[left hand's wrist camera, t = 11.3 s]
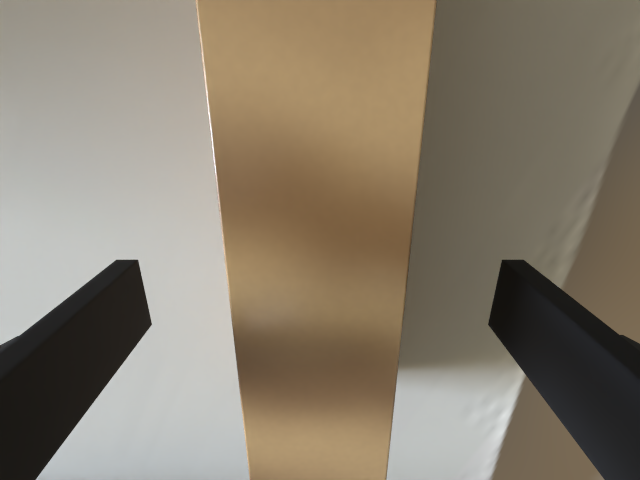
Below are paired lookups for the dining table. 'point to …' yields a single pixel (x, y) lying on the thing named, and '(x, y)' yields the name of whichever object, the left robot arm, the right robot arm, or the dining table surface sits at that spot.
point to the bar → (317, 217)
